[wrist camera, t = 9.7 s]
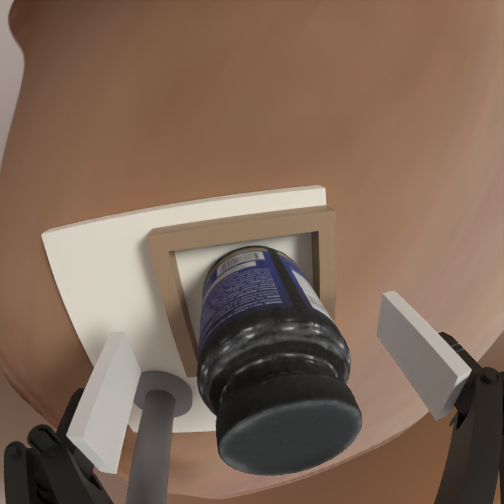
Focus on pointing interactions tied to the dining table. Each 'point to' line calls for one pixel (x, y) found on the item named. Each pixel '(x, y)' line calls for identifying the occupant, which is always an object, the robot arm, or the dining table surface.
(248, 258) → the pill bottle
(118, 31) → the dining table surface
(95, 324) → the base board
